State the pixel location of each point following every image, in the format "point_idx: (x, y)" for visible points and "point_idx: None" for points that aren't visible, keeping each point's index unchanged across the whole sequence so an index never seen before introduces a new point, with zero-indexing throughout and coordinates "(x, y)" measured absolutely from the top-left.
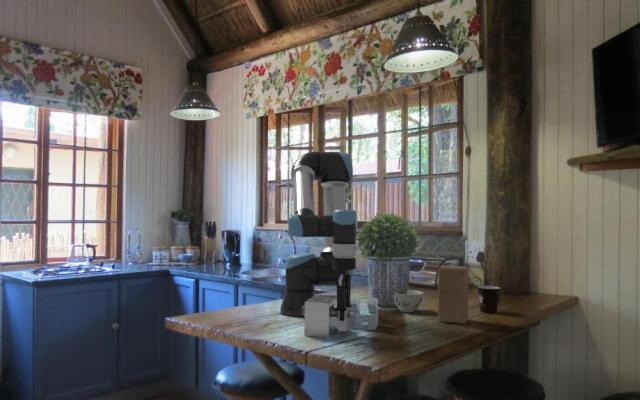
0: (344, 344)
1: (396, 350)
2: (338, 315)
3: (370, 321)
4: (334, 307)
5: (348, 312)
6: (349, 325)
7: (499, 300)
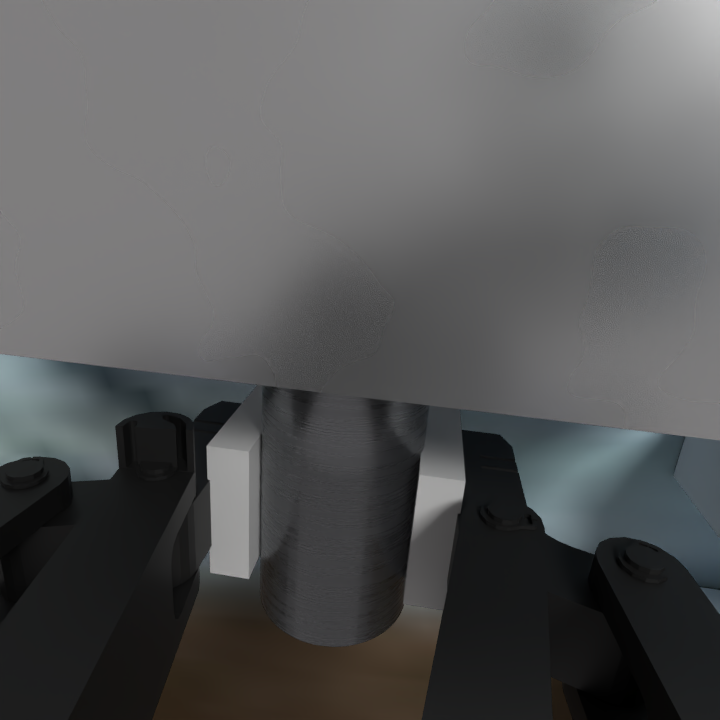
0: (41, 399)
1: None
2: (237, 410)
3: None
4: None
5: (261, 575)
6: None
7: None
